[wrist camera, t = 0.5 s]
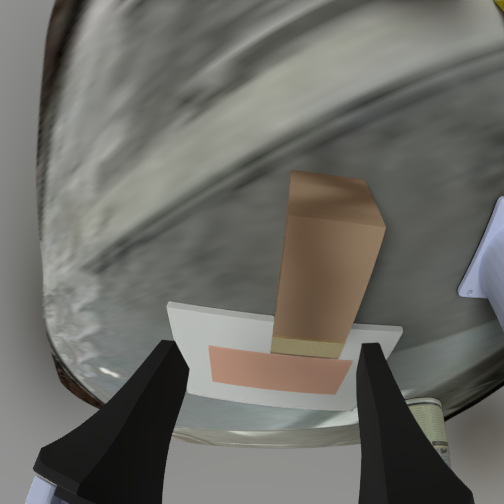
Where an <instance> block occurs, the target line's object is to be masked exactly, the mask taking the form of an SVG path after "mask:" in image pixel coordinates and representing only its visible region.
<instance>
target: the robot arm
mask: <svg viewBox="0 0 504 504" xmlns="http://www.w3.org/2000/svg"><path fill="white" fill-rule="evenodd" d="M457 291H458V294H459V295H460V296H462V297H475V298H488V300H489V302H490V304H491V306H492V308H493V310H494V312H495V314H496V316H497V318H498V320H499V323H500V325H501V327H502V329H503V331H504V196H501V197H500V198H499V199H498V200H497V203H496V205H495V208H494V211H493V213H492V216H491V218H490V221H489V223H488V226H487V228H486V231H485V233H484V235H483V238H482V240H481V242H480V245H479V247H478V249H477V251H476V253H475V256H474V258H473V260H472V262H471V264H470V266H469V268H468V270H467V272H466V274H465V276H464V278H463V280H462V282H461V284H460V286H459V287H458V290H457ZM189 371H190V368H189V367H188V365H187V363H186V361H185V359H184V357H183V355H182V353H181V351H180V350H179V348H178V346H177V344H176V342H175V341H169V340H161V342H160V343H159V344H158V345H157V346H156V348H155V349H154V350H153V351H152V352H151V354H150V355H149V356H148V357H147V359H146V360H145V361H144V362H143V363H142V365H141V366H140V367H139V368H138V370H137V371H136V372H135V373H134V374H133V375H132V377H131V378H130V379H129V380H128V381H127V382H126V383H125V385H124V386H123V387H122V388H121V389H120V390H119V391H118V392H117V393H116V394H115V395H114V396H113V397H112V398H111V399H110V400H109V401H108V402H107V403H106V404H105V405H104V406H103V407H102V408H101V409H100V410H99V411H98V412H96V413H95V414H94V415H93V416H91V417H90V418H89V419H88V420H86V421H85V422H84V423H83V424H81V425H80V426H79V427H77V428H76V429H74V430H73V431H71V432H70V433H68V434H67V435H65V436H63V437H62V438H60V439H58V440H56V441H54V442H52V443H51V444H49V445H47V446H45V447H43V448H41V450H40V453H39V455H38V457H37V460H36V462H35V465H34V467H33V470H34V471H35V472H36V473H38V474H39V475H41V476H43V477H44V478H46V479H48V480H49V481H51V482H53V483H54V484H56V485H57V486H56V485H54V484H52V483H50V482H48V481H46V480H45V479H43V478H41V477H39V476H37V475H35V477H34V480H33V483H32V485H31V488H30V491H29V494H28V496H27V499H26V502H25V504H162V491H163V481H164V473H165V466H166V460H167V454H168V449H169V444H170V440H171V436H172V433H173V430H174V427H175V423H176V420H177V417H178V414H179V411H180V408H181V405H182V402H183V399H184V396H185V392H186V388H187V383H188V377H189ZM356 399H357V408H358V417H359V427H360V438H361V453H362V459H361V479H360V492H359V504H475V503H474V498H473V494H472V492H471V490H470V489H469V488H468V487H467V486H465V484H464V483H463V482H462V481H461V480H460V479H459V478H458V477H457V476H456V475H455V473H454V472H453V471H452V470H451V469H450V468H449V466H448V465H447V464H446V463H445V461H444V460H443V459H442V457H441V456H440V455H439V453H438V452H437V451H436V450H435V448H434V447H433V445H432V444H431V443H430V441H429V440H428V438H427V437H426V435H425V434H424V432H423V431H422V429H421V427H420V426H419V424H418V423H417V421H416V419H415V418H414V416H413V414H412V412H411V410H410V409H409V407H408V405H407V403H406V401H405V399H404V398H403V396H402V394H401V391H400V389H399V387H398V385H397V383H396V381H395V379H394V377H393V375H392V373H391V370H390V368H389V366H388V363H387V361H386V359H385V356H384V353H383V351H382V348H381V345H380V344H379V343H378V342H375V343H362V345H361V350H360V355H359V360H358V365H357V370H356Z"/></svg>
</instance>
